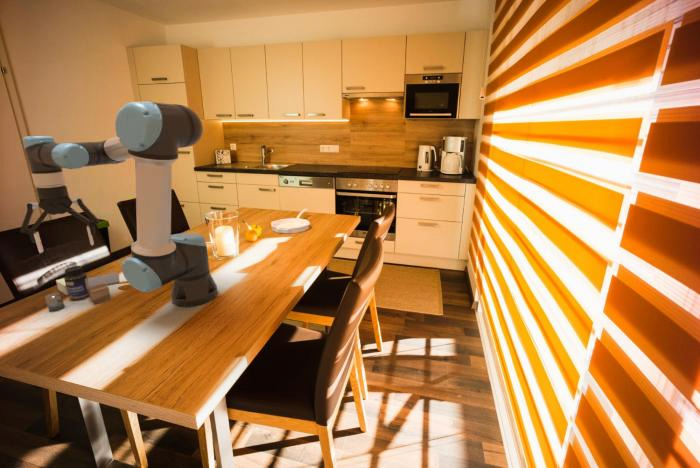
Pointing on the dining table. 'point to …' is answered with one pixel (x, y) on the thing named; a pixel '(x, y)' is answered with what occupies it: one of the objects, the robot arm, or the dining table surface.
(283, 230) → the pan
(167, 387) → the dining table surface
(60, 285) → the sage block
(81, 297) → the pill bottle
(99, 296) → the walnut cube
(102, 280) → the mat
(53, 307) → the grey rounded block
